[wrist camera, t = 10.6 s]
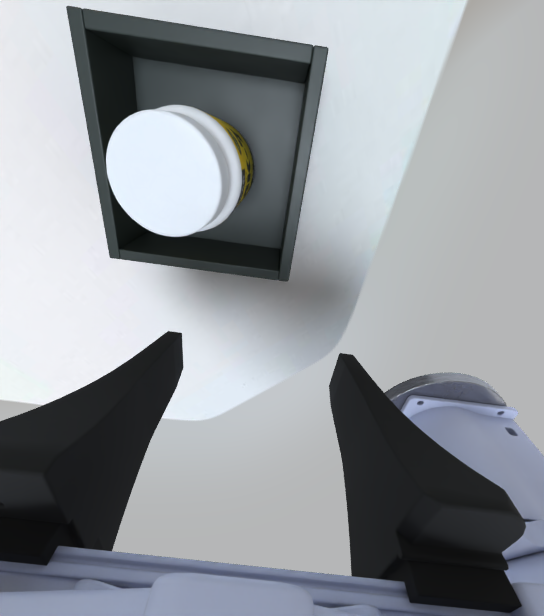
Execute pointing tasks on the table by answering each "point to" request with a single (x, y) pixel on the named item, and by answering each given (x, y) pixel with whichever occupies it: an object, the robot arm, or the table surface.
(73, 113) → the table surface
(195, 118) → the supplement bottle
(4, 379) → the table surface
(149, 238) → the storage tray
